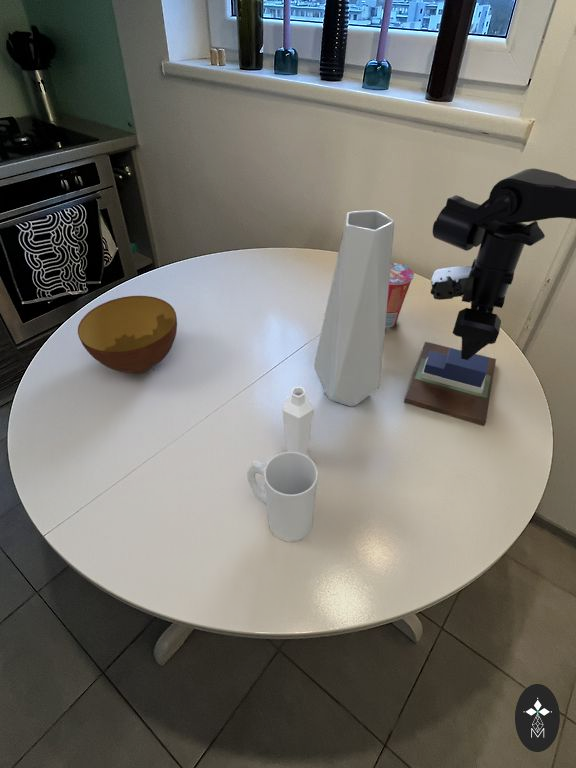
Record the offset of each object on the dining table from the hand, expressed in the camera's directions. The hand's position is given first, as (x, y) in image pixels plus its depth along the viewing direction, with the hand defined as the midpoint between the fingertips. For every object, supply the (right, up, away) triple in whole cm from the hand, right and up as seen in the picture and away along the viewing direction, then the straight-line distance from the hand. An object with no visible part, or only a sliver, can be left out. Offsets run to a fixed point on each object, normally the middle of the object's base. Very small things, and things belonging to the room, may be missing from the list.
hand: (468, 343), depth 79 cm
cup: (-10, +7, +22) cm, 25 cm away
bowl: (-61, -3, +12) cm, 62 cm away
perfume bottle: (-30, -19, -5) cm, 36 cm away
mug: (-32, -27, -13) cm, 44 cm away
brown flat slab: (0, -7, +8) cm, 10 cm away
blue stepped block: (0, -6, +7) cm, 9 cm away
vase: (-20, -9, +6) cm, 22 cm away
